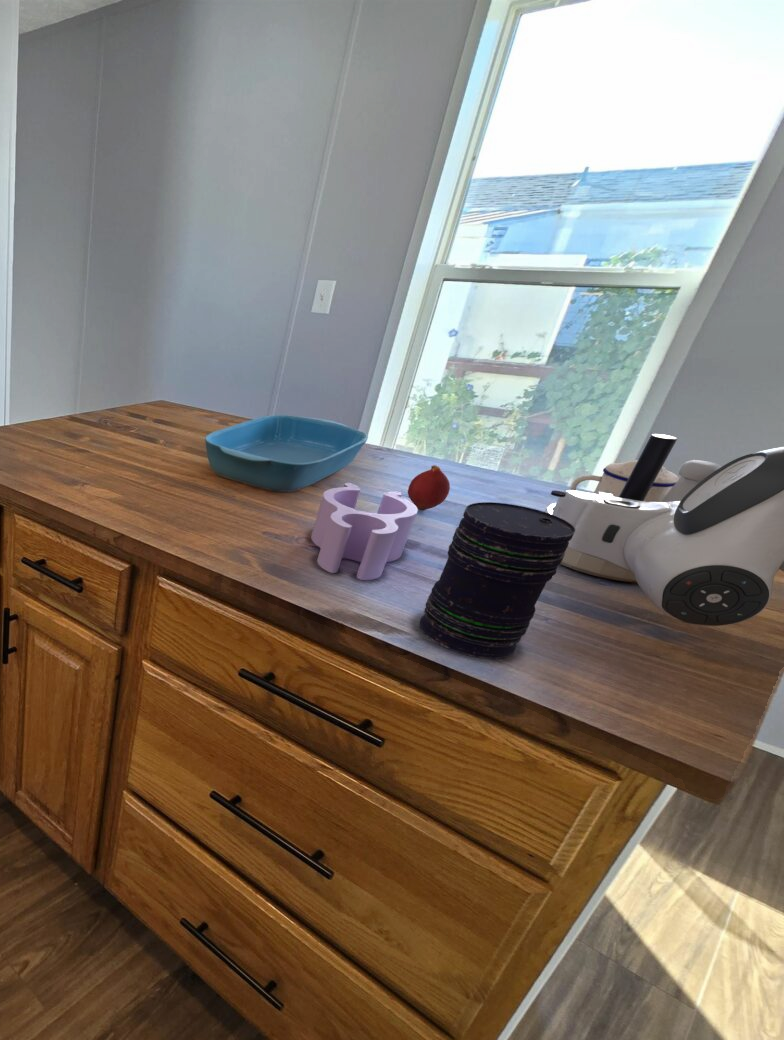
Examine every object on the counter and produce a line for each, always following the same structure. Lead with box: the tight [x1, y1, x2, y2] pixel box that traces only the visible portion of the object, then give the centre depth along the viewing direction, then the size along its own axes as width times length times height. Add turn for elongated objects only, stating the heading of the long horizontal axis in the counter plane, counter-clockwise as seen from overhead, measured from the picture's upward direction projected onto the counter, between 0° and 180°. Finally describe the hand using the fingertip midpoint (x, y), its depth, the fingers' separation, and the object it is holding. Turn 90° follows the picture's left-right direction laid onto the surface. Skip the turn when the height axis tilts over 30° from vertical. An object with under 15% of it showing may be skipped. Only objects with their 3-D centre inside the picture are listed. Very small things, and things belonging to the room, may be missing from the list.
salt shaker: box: [660, 459, 722, 503], centre depth 99 cm, size 6×6×13 cm
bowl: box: [544, 502, 637, 583], centre depth 95 cm, size 16×16×6 cm
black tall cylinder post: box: [619, 433, 678, 501], centre depth 92 cm, size 6×6×18 cm
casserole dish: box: [204, 414, 369, 493], centre depth 129 cm, size 37×22×7 cm, turn 132°
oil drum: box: [418, 490, 576, 660], centre depth 73 cm, size 10×10×18 cm
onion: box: [407, 464, 451, 512], centre depth 111 cm, size 6×6×8 cm
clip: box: [310, 482, 419, 581], centre depth 96 cm, size 20×12×7 cm, turn 148°
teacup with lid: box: [569, 459, 680, 502], centre depth 106 cm, size 12×9×12 cm
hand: (647, 505), depth 85 cm, fingers open, 8 cm apart
